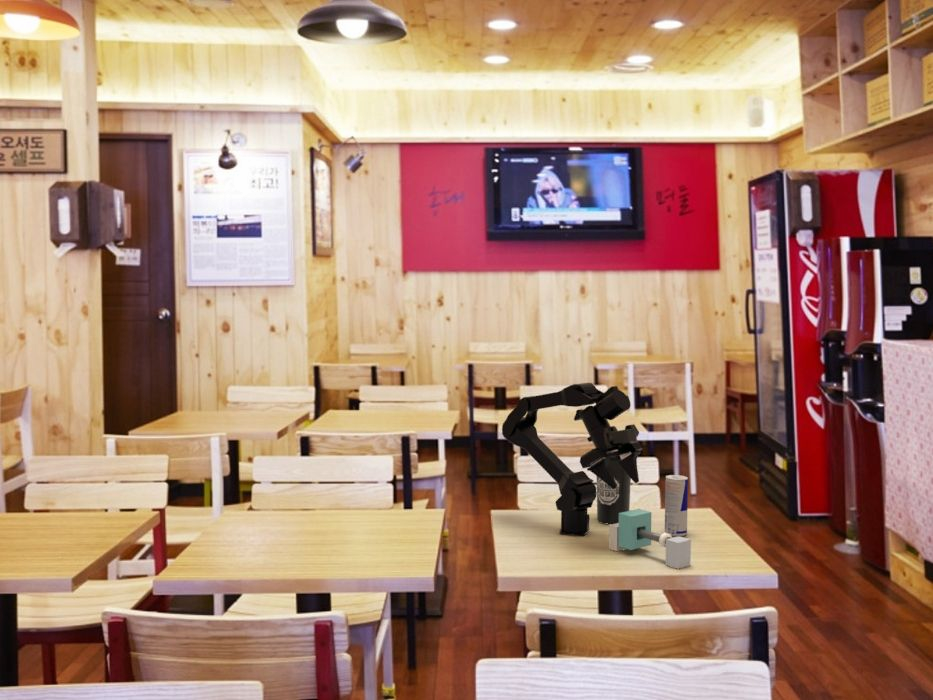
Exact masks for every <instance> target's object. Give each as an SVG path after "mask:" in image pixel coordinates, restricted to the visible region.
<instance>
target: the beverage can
mask: <svg viewBox="0 0 933 700" xmlns="http://www.w3.org/2000/svg"><path fill="white" fill-rule="evenodd" d="M688 479H689V477H687V476H686V475H685V476H684V475H678V474H677V475H676V474H669V475H665V489H664V491H665V492H664V496H665V497H664V499H665V500H664V533H668V534H670V535H671V536H672V537H678V536H680V537H684V536H686V535H687V534H688V505H689V504H688V500H689V497H688V496H689V480H688Z"/></svg>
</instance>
